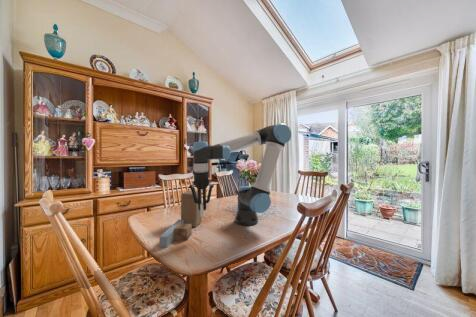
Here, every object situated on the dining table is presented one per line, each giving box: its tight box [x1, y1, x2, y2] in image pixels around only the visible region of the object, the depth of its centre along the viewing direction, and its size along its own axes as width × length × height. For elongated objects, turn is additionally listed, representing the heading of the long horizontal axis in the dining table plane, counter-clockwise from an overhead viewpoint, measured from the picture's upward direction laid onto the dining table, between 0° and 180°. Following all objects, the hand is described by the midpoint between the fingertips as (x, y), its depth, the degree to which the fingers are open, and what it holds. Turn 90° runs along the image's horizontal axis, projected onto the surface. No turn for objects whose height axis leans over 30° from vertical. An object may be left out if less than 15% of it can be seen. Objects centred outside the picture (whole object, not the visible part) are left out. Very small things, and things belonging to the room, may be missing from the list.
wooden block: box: [180, 190, 203, 228], centre depth 125 cm, size 10×10×20 cm
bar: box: [159, 219, 184, 248], centre depth 106 cm, size 4×24×5 cm, turn 176°
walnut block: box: [173, 224, 193, 241], centre depth 106 cm, size 7×7×6 cm
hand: (202, 216), depth 105 cm, fingers closed
